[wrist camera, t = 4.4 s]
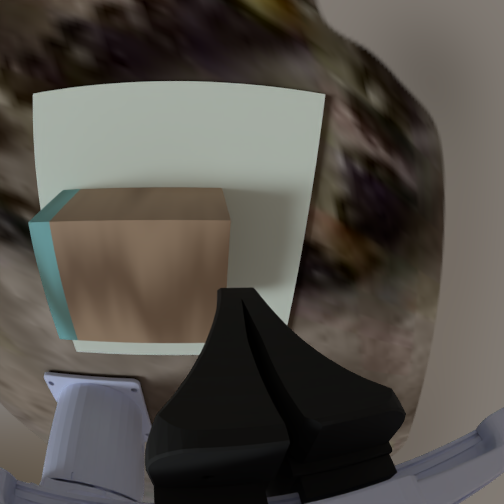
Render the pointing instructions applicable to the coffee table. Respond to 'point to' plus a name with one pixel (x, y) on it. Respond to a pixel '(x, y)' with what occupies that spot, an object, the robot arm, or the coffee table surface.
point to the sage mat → (193, 167)
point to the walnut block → (133, 262)
